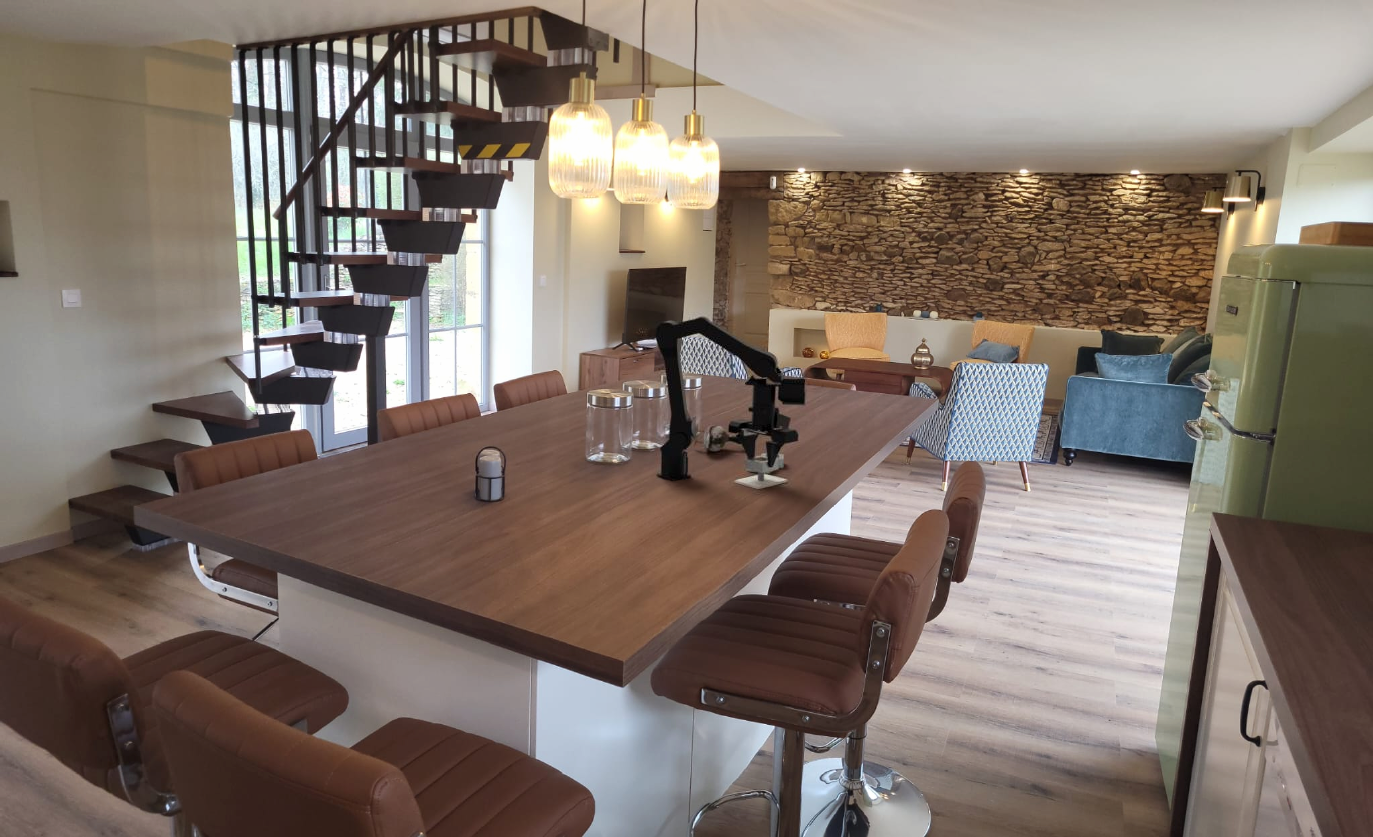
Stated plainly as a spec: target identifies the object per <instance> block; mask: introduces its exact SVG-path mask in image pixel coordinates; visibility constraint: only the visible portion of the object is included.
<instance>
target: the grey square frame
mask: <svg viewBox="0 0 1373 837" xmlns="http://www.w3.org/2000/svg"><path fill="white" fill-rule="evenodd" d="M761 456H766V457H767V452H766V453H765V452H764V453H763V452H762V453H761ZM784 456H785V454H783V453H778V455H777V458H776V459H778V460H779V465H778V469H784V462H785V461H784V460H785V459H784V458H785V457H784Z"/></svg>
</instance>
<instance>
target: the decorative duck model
mask: <svg viewBox="0 0 1373 837" xmlns="http://www.w3.org/2000/svg"><path fill="white" fill-rule="evenodd" d="M698 426H699V425H698V424H696V428H697V430H698V432H699V433H700V432H701V433H702V432H703V433H704V434H703V441H698V440H697V436H696V437H695V440H694V442H693V443H694V445H693V446H694V447H695V446H696V444H703V447H704V450H705V451H707V452H718V451H721V450H722V449H724V448H723V447H725V444H726V443H727V442H731V443H735V444H738V445H742V444H741V442H740V440H739V439H738V437H736V435H735V436H733V435H730V434H727V432H726V430H725V429H724V427H722V426H720V425H717V424H716V425H715V424H712V425H709V426H707V428H706V429H705V430H700V429H699V428H698ZM698 432H697V433H698Z"/></svg>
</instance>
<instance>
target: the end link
mask: <svg viewBox="0 0 1373 837" xmlns="http://www.w3.org/2000/svg"><path fill="white" fill-rule="evenodd" d="M761 455H762V454H761ZM761 455H755V457H750V458H748V457H747V458H744V466H743V467H744V469H746V470H747V469H749V470H753V471H757V472H756V473H758V472H761V473H764V472H769V471H772V472H774V471H777V470H779V468H778V465H779V460H778V459H776V460H775V463H774V465H773V467H771V468H770V467H769V465H768V459H767V457H766V456H761ZM773 470H774V471H773ZM764 474H765V473H764Z"/></svg>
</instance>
